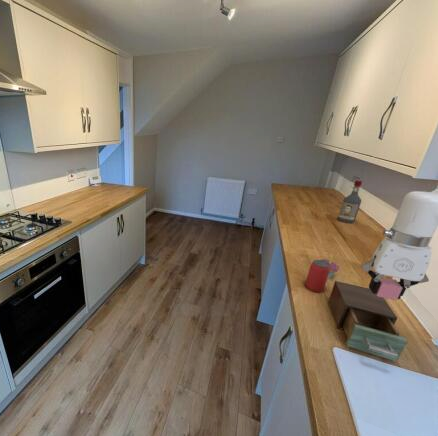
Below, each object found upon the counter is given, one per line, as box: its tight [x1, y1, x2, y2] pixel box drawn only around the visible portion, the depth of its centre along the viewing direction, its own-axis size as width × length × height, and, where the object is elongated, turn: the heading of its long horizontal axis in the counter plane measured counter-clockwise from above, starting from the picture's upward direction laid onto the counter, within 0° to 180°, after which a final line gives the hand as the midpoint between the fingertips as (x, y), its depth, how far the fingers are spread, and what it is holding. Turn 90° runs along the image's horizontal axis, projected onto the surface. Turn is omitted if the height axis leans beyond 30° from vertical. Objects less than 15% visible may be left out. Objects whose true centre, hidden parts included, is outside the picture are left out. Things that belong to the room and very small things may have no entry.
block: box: [376, 276, 402, 302], centre depth 69 cm, size 4×4×4 cm
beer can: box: [304, 259, 330, 293], centre depth 98 cm, size 7×7×12 cm
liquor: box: [337, 180, 363, 224], centre depth 171 cm, size 9×9×30 cm
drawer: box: [342, 308, 408, 362], centre depth 72 cm, size 18×11×8 cm, turn 154°
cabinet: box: [327, 280, 398, 330], centre depth 82 cm, size 15×13×10 cm
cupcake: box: [321, 253, 340, 279], centre depth 107 cm, size 9×8×12 cm
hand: (384, 293), depth 70 cm, fingers closed on block, 4 cm apart
